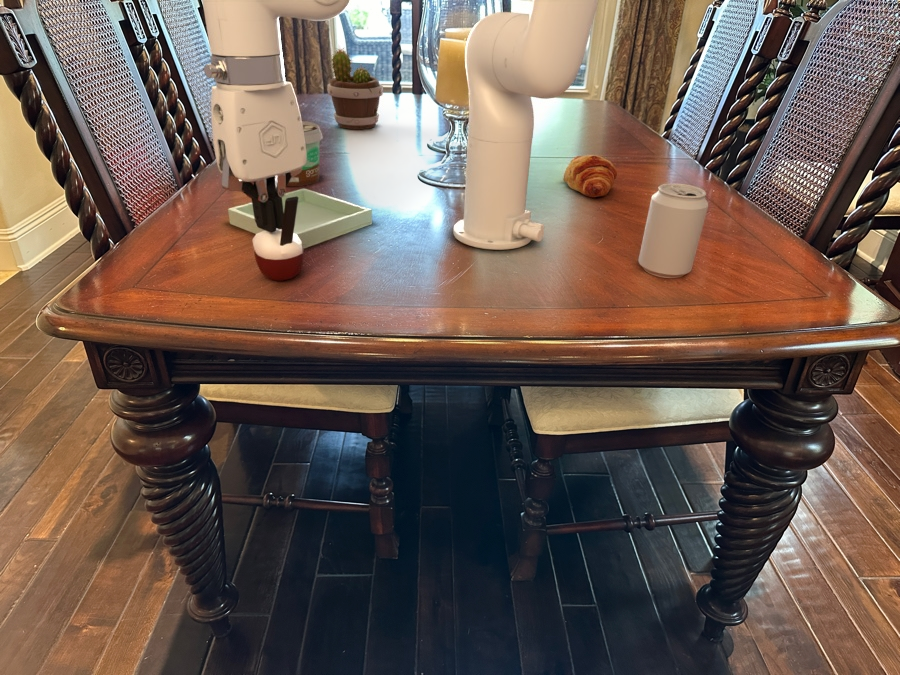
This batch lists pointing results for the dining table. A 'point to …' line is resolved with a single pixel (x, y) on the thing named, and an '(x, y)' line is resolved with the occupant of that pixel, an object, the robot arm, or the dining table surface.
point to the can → (673, 230)
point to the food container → (309, 156)
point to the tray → (311, 217)
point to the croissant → (590, 175)
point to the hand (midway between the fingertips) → (270, 227)
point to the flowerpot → (353, 94)
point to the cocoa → (280, 247)
